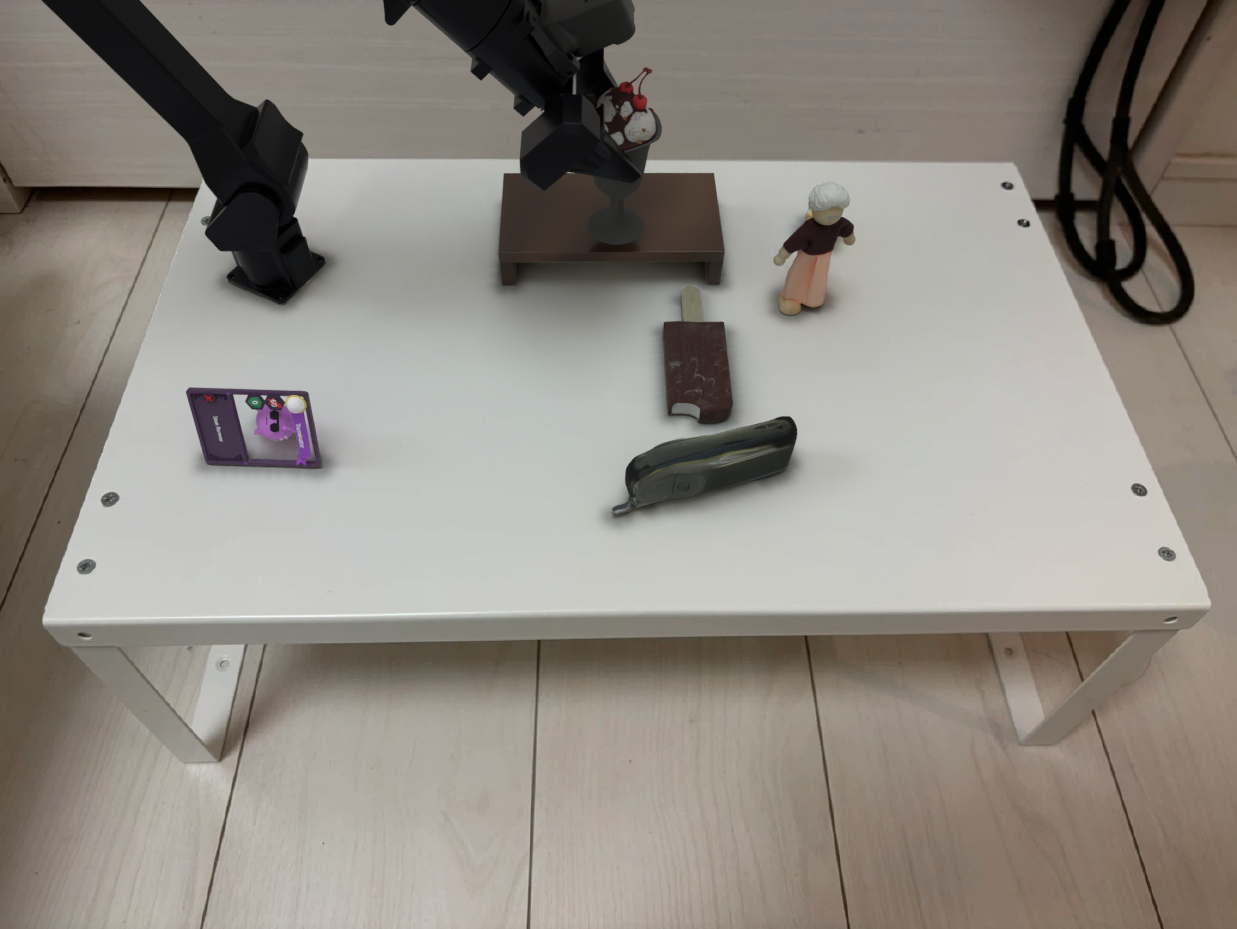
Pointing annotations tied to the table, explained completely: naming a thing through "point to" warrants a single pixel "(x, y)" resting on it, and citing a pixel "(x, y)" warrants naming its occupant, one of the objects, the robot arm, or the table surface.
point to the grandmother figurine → (814, 248)
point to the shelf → (559, 215)
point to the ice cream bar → (696, 364)
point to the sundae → (634, 136)
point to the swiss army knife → (709, 462)
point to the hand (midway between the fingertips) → (635, 152)
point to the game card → (273, 422)
